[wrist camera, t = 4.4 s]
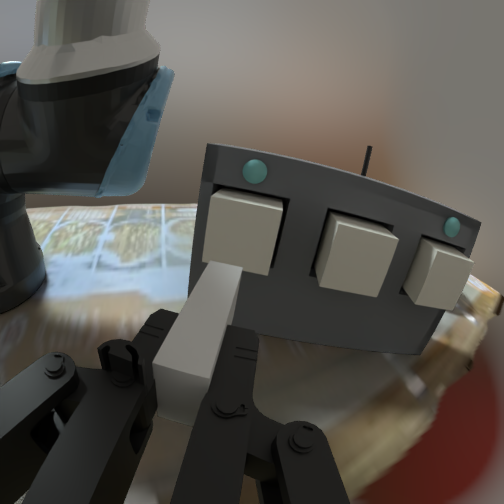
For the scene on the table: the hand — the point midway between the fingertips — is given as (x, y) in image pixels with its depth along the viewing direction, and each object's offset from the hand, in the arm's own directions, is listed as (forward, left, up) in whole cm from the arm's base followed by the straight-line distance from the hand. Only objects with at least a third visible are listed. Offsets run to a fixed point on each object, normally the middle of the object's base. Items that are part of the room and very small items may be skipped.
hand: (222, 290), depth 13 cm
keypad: (+11, +11, -10) cm, 18 cm away
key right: (+19, +6, -2) cm, 20 cm away
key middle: (+10, +8, -2) cm, 13 cm away
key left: (+1, +9, -2) cm, 10 cm away
